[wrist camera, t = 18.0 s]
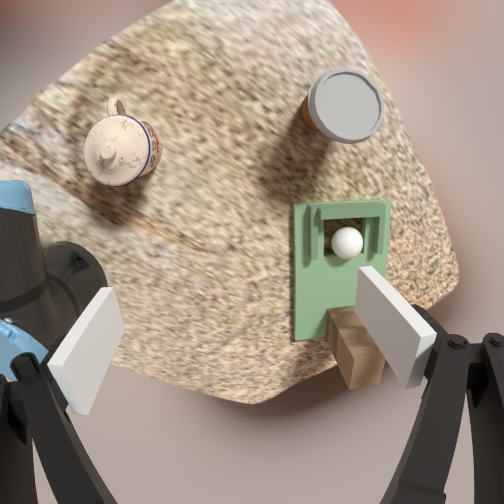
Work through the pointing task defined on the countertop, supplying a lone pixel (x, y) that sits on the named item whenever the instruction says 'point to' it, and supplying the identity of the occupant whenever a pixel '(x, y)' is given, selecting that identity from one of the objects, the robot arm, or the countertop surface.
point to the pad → (333, 260)
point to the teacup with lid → (121, 147)
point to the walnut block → (353, 348)
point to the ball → (347, 242)
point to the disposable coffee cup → (343, 105)
